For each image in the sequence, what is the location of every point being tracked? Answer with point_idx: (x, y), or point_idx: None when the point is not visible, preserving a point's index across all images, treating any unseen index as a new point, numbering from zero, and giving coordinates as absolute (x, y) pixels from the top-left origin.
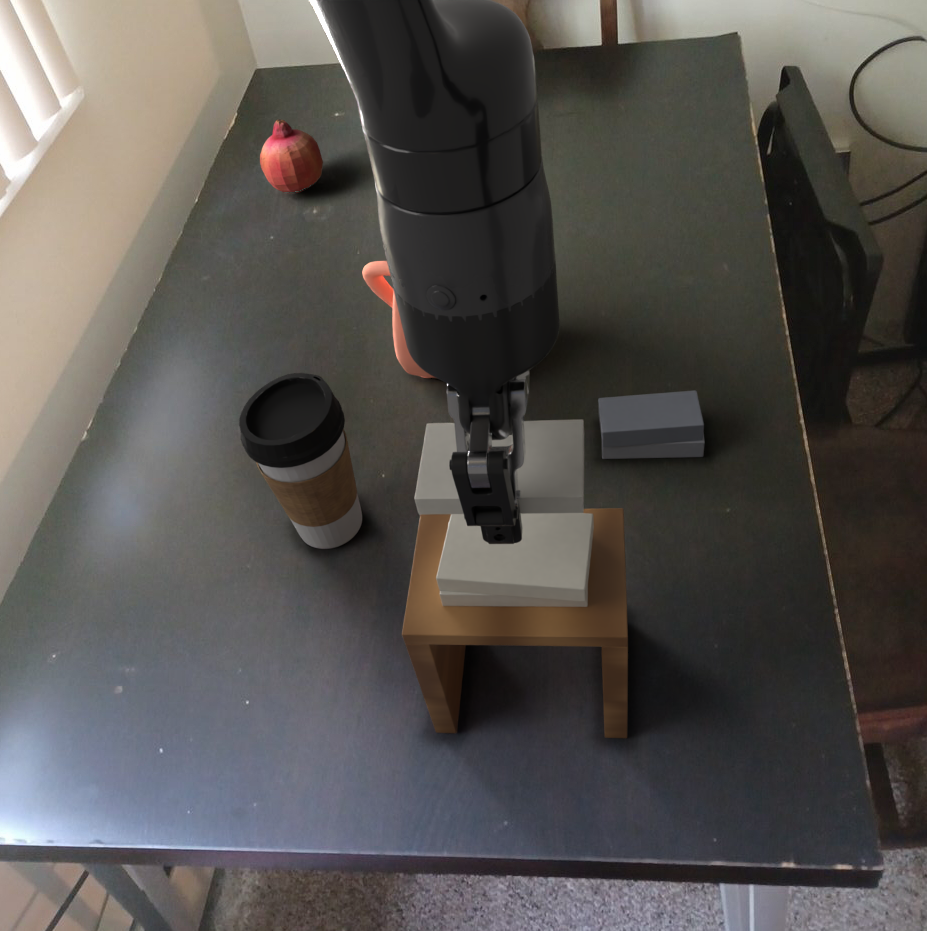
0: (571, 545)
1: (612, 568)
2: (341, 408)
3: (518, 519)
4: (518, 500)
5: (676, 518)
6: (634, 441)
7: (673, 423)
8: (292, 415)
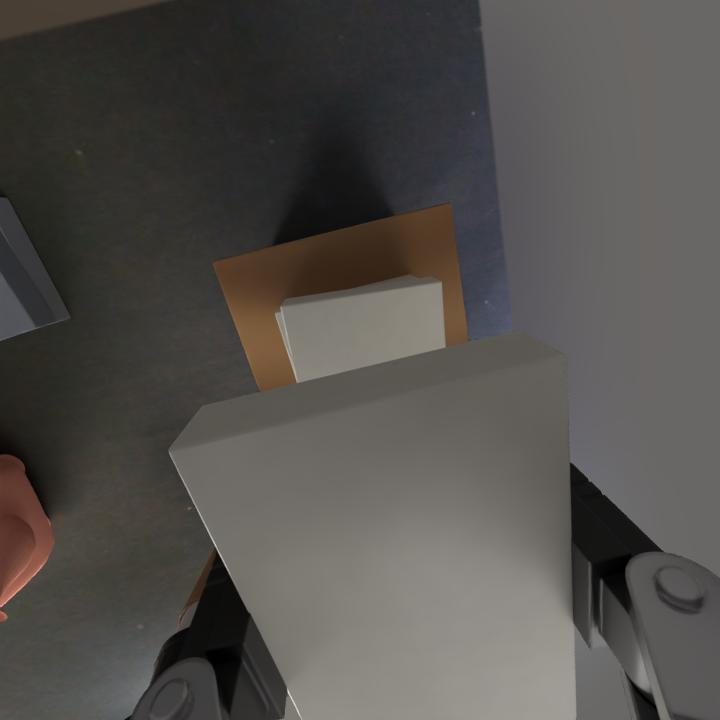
0: (359, 325)
1: (334, 252)
2: (174, 643)
3: (571, 489)
4: (641, 556)
5: (119, 215)
6: (29, 286)
7: None
8: None
